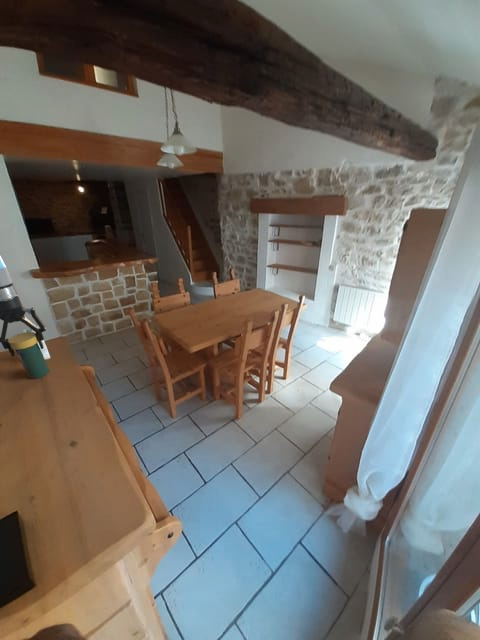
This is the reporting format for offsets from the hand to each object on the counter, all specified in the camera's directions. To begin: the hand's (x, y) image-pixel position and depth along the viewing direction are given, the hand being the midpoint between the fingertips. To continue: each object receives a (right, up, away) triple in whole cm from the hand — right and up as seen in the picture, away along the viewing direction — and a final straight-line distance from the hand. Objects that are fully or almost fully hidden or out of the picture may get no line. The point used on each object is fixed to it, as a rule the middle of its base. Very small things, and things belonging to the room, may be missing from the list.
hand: (28, 350), depth 100 cm
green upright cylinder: (0, -10, +5) cm, 11 cm away
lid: (0, +5, -3) cm, 6 cm away
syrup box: (-6, -5, +15) cm, 17 cm away
